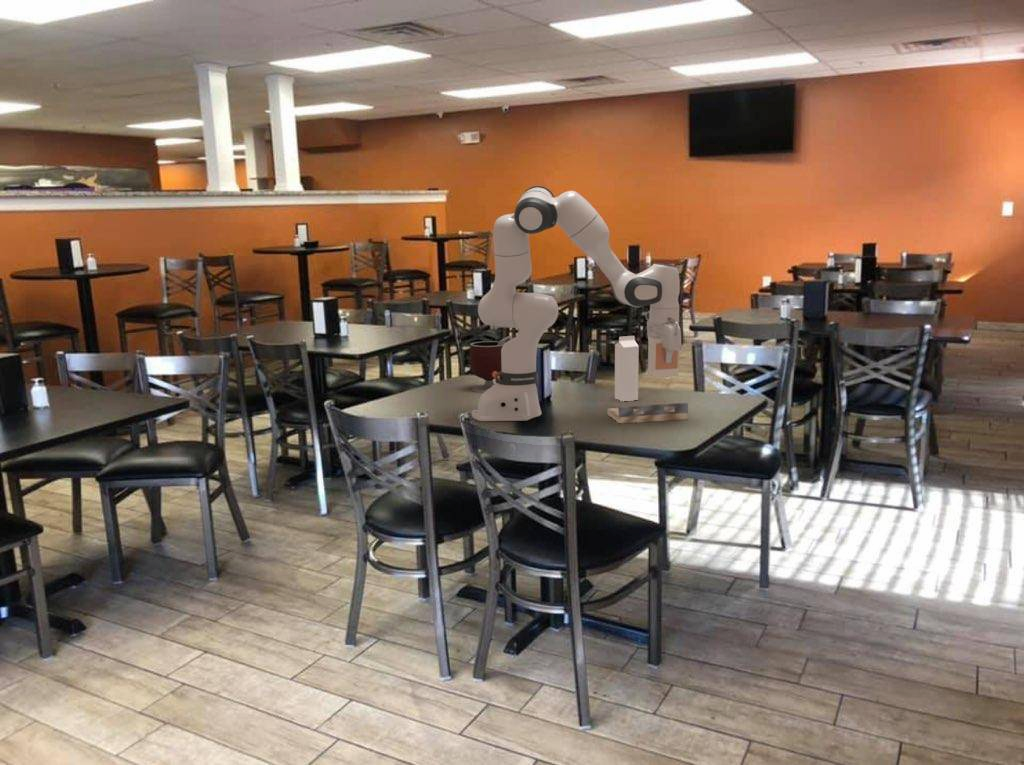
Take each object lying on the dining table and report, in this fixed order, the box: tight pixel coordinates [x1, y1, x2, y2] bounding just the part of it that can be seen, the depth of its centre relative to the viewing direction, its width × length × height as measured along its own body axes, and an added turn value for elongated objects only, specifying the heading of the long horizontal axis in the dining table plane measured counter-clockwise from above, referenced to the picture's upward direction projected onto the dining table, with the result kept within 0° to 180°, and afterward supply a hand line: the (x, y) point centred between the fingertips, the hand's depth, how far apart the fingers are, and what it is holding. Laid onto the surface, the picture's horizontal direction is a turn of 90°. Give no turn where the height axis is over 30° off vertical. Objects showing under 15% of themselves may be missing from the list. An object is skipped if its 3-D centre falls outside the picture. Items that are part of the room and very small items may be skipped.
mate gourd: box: [469, 335, 513, 394], centre depth 308 cm, size 16×14×20 cm
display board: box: [607, 402, 689, 424], centre depth 263 cm, size 22×12×5 cm, turn 101°
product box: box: [647, 336, 680, 378], centre depth 260 cm, size 8×6×12 cm
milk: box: [614, 335, 640, 403], centre depth 287 cm, size 6×6×22 cm
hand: (663, 360), depth 260 cm, fingers closed on product box, 6 cm apart
